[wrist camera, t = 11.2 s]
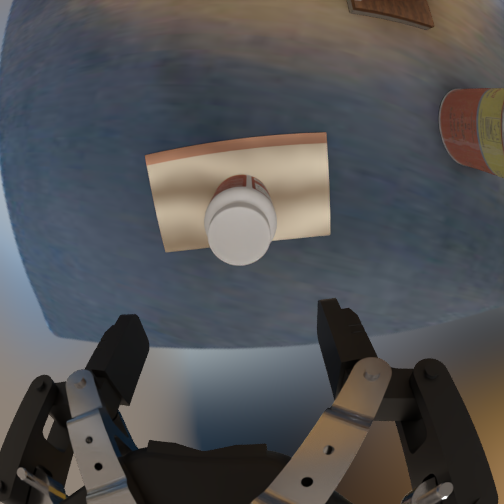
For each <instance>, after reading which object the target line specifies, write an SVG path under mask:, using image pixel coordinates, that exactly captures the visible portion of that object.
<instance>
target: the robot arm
mask: <svg viewBox="0 0 504 504" xmlns="http://www.w3.org/2000/svg"><path fill="white" fill-rule="evenodd" d="M317 335H318V341H319V345H320V348H321V352H322V356H323V359H324V363H325V366H326V370H327V374H328V378H329V381H330V385H331V389H332V393H333V397H334V400H335V402H334V403H333V405H332V406H331V408H327V409H326V410H325V411H324V413H323V414H322V416H321V417H320V419H319V420H318V422H317V423H316V425H315V426H314V428H313V429H312V431H311V432H310V434H309V435H308V436H307V438H306V439H305V441H304V442H303V444H302V445H301V446H300V448H299V449H298V450H297V452H296V453H295V455H294V456H293V457H290V456H287V455H284V454H281V453H277V452H273V451H267V446H266V444H253V445H234V446H229V447H224V448H219V449H214V450H210V451H200V450H196V449H193V448H189V447H186V446H183V445H180V444H177V443H170V442H161V441H153V440H149V443H148V447H145V448H141V449H138V447H137V446H136V445H135V443H134V441H133V439H132V437H131V435H130V433H129V431H128V428H127V426H126V424H125V422H124V420H123V417H122V415H121V413H120V411H119V410H118V408H119V405H126V406H130V403H131V399H132V397H133V394H134V391H135V388H136V385H137V382H138V379H139V376H140V374H141V371H142V368H143V366H144V363H145V360H146V358H147V355H148V352H149V341H148V338H147V336H146V333H145V331H144V329H143V326H142V324H141V321H140V319H139V317H138V316H137V315H136V314H128V315H120V316H119V318H118V320H117V322H116V323H115V325H112V326H111V327H110V328H109V329H108V330H107V331H106V332H105V333H104V335H103V337H102V338H101V342H99V344H98V346H97V348H96V349H95V351H94V353H93V355H92V356H91V358H90V360H89V362H88V364H87V366H86V368H85V369H81V370H77V371H75V372H74V373H72V374H71V375H70V376H69V377H68V379H67V381H66V382H61V383H54V381H53V380H52V379H51V377H49V376H48V375H41V376H39V377H37V378H36V379H35V380H34V381H33V382H32V383H31V385H30V387H29V389H28V391H27V393H26V394H25V396H24V398H23V401H22V402H21V404H20V407H19V409H18V411H17V413H16V415H15V417H14V419H13V422H12V424H11V426H10V428H9V431H8V433H7V435H6V438H5V441H4V443H3V445H2V448H1V451H0V502H2V503H4V504H353V503H351V502H350V501H348V500H347V499H346V498H344V497H343V496H342V495H340V494H339V493H338V492H336V491H335V488H336V487H337V485H338V483H339V482H340V480H341V479H342V477H343V476H344V474H345V472H346V470H347V469H348V467H349V466H350V464H351V462H352V460H353V458H354V457H355V455H356V453H357V451H358V449H359V447H360V445H361V444H362V442H363V440H364V438H365V436H366V434H367V432H368V430H369V428H370V426H371V424H372V421H373V420H375V421H395V423H396V426H397V429H398V433H399V437H400V440H401V444H402V447H403V452H404V455H405V459H406V463H407V467H408V472H409V476H410V480H411V485H412V491H410V492H409V493H408V494H407V495H406V496H405V497H404V498H403V500H402V502H401V504H498V494H497V491H496V487H495V483H494V480H493V476H492V473H491V470H490V467H489V464H488V461H487V458H486V456H485V452H484V450H483V447H482V444H481V442H480V439H479V437H478V434H477V432H476V429H475V427H474V424H473V422H472V420H471V418H470V415H469V413H468V411H467V409H466V406H465V404H464V402H463V400H462V398H461V396H460V394H459V392H458V390H457V388H456V386H455V384H454V382H453V380H452V378H451V376H450V374H449V372H448V370H447V368H446V367H445V365H444V364H443V363H441V362H440V361H438V360H436V359H423V360H421V361H419V362H418V363H417V364H416V365H415V367H414V369H398V368H392V367H390V366H389V364H388V363H387V362H385V361H384V360H382V359H380V358H378V357H377V355H376V353H375V350H374V348H373V346H372V344H371V342H370V340H369V338H368V336H367V333H366V332H365V329H364V327H363V325H361V321H360V319H359V317H358V315H357V314H356V313H355V312H353V311H352V310H351V309H350V308H345V309H341V308H340V305H339V303H338V301H337V299H336V298H331V299H324V300H319V301H318V314H317ZM48 415H50V416H51V417H52V418H53V419H54V423H53V425H52V428H51V430H50V433H49V436H48V438H47V440H46V439H45V438H44V436H43V427H44V425H45V422H46V420H47V418H48ZM73 453H74V454H75V458H76V461H77V464H78V467H79V470H80V473H81V476H82V479H83V482H84V486H83V487H82V488H80V489H79V490H77V491H76V492H75V493H73V494H72V495H71V496H68V495H66V493H65V489H64V487H65V483H66V479H67V475H68V471H69V467H70V464H71V460H72V457H73Z"/></svg>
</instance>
